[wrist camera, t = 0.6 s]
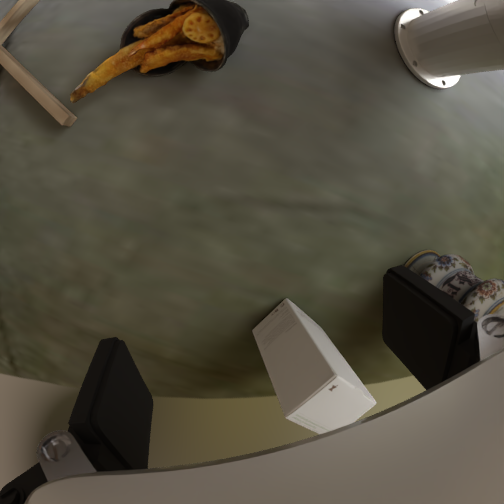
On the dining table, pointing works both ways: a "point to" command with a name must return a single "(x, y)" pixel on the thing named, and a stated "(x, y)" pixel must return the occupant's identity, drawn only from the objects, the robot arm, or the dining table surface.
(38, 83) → the serving frame
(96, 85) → the fried shrimp in bowl
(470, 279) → the apothecary jar
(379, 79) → the dining table surface
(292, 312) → the skincare box
